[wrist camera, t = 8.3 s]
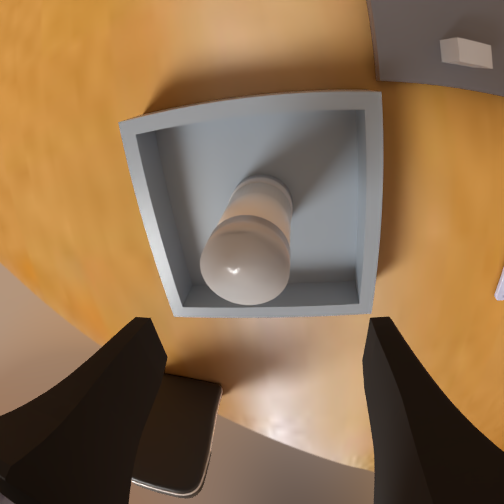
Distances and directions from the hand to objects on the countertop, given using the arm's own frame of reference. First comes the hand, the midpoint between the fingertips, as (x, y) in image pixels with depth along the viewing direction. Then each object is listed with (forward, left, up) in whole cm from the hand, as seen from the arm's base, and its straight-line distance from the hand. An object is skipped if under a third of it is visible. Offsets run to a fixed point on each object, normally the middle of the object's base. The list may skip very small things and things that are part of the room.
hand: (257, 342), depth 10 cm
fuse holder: (-10, -12, -9) cm, 18 cm away
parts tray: (+1, -1, -9) cm, 9 cm away
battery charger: (+10, +17, -10) cm, 22 cm away
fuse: (+1, -1, -9) cm, 9 cm away
